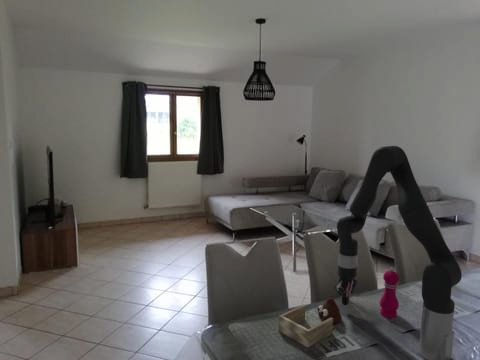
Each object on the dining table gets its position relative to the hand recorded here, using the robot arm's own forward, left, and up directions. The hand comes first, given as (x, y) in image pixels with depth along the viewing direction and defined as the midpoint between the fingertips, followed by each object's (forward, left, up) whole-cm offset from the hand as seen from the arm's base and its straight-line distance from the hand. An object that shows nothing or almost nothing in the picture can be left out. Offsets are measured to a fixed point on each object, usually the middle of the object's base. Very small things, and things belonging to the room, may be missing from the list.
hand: (345, 304), depth 162 cm
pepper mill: (-13, -11, -3) cm, 18 cm away
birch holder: (0, +25, -3) cm, 25 cm away
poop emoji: (0, +10, -3) cm, 11 cm away
